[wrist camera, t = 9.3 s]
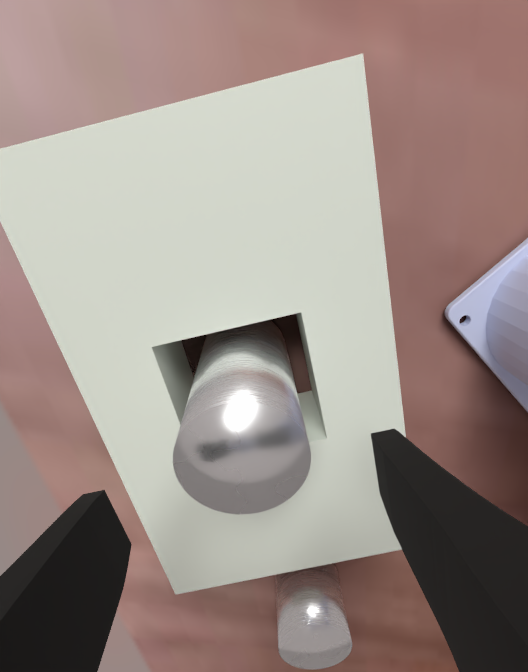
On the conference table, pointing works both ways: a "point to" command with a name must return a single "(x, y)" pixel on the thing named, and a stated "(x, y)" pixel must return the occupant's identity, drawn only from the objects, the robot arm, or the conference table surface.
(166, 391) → the pin board
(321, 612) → the short pin
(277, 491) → the tall pin
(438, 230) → the conference table surface
